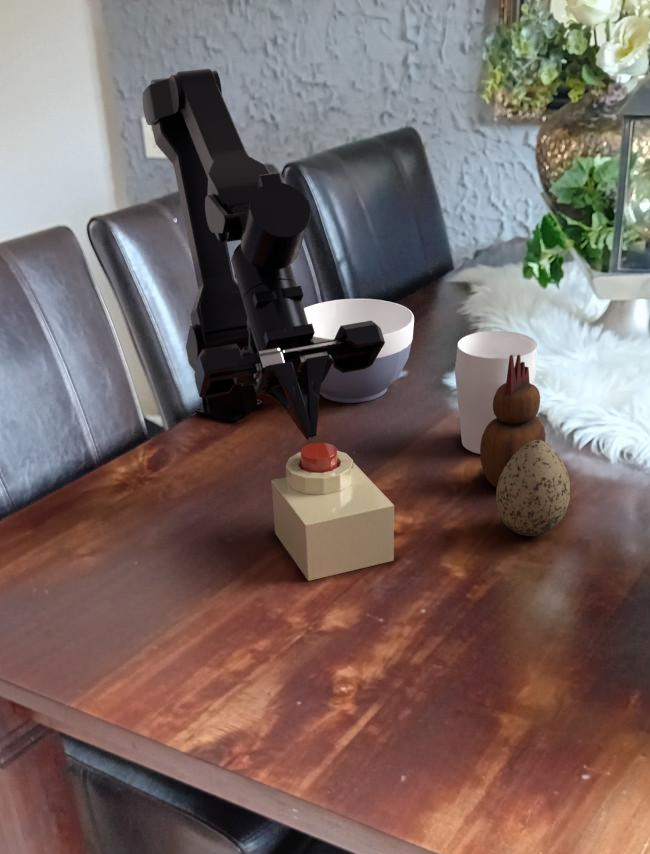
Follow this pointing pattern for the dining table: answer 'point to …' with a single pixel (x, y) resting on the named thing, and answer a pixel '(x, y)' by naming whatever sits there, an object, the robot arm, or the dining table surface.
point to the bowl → (389, 360)
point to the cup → (486, 377)
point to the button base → (332, 519)
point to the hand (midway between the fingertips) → (311, 438)
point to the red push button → (319, 458)
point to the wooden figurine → (511, 421)
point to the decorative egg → (533, 490)
